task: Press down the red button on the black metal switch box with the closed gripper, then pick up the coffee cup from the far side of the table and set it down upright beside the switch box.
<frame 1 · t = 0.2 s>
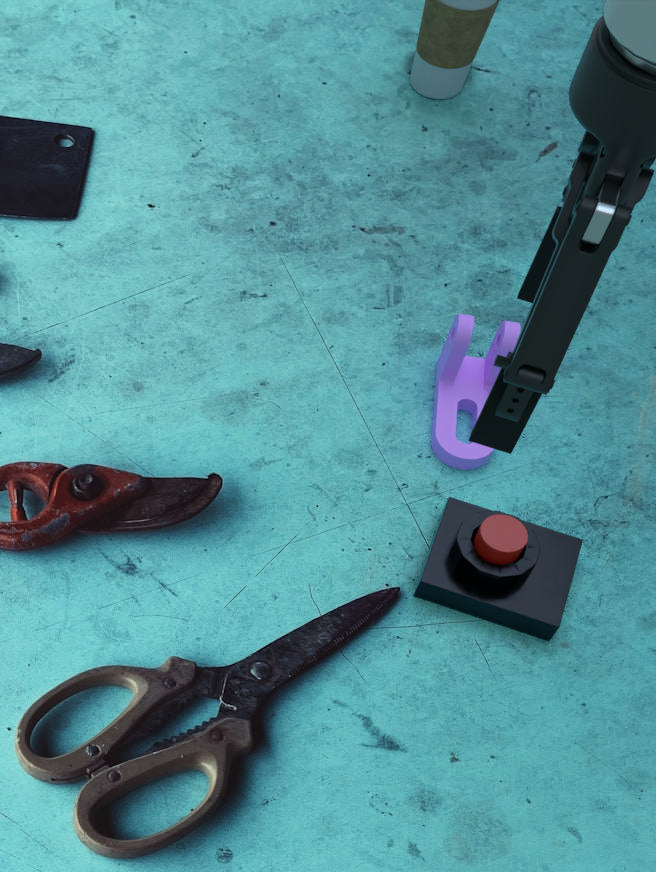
hand: (514, 370, 77), 28 cm above the table, tool pointing down, fingers open, 13 cm apart
bracket: (462, 418, 113), on the table
button: (500, 539, 101), point 4 cm above the table, slide at 0.1 cm
switch box: (493, 575, 105), on the table
coffee cup: (435, 84, 135), on the table
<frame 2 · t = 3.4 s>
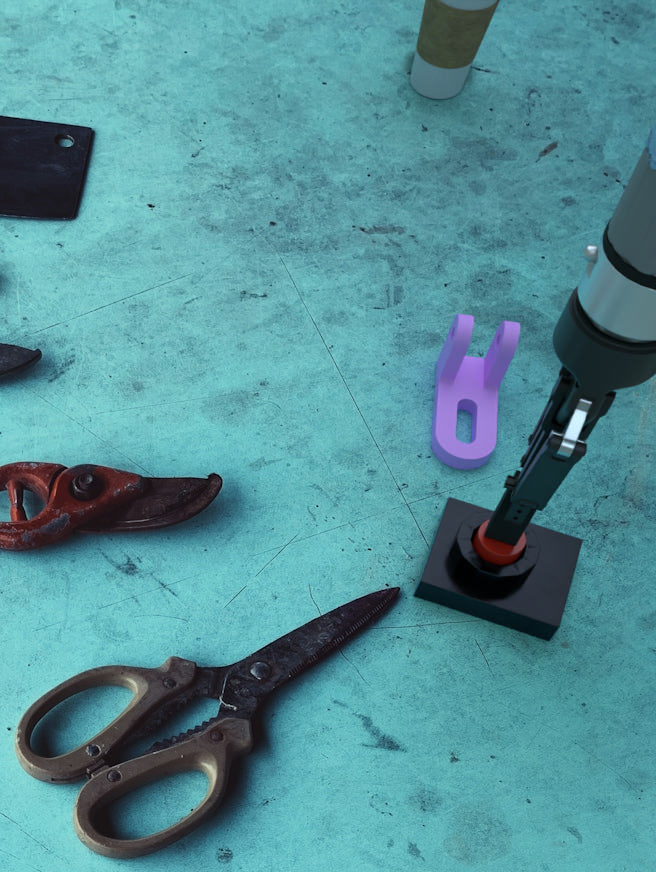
hand: (501, 534, 100), 5 cm above the table, tool pointing down, fingers closed
button: (498, 543, 101), point 4 cm above the table, slide at -0.4 cm, touching gripper
everything else where it was.
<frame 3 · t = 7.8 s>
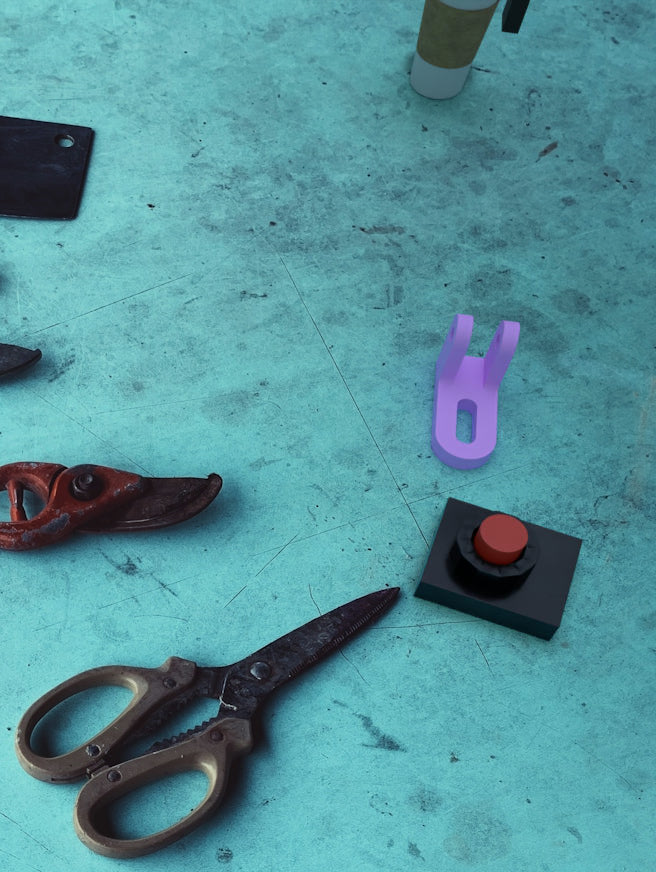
hand: (510, 23, 109), 19 cm above the table, tool pointing down, fingers closed
button: (500, 539, 101), point 4 cm above the table, slide at 0.1 cm
everything else where it was.
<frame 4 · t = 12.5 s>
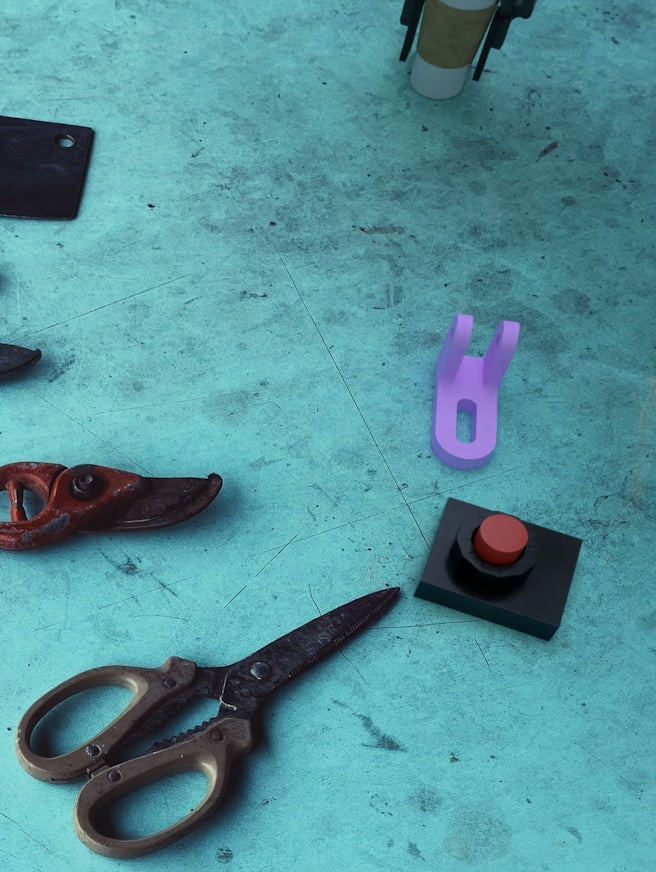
hand: (441, 64, 133), 2 cm above the table, tool pointing down, fingers closed on coffee cup, 8 cm apart
coffee cup: (435, 84, 135), on the table, touching gripper
everything else where it was.
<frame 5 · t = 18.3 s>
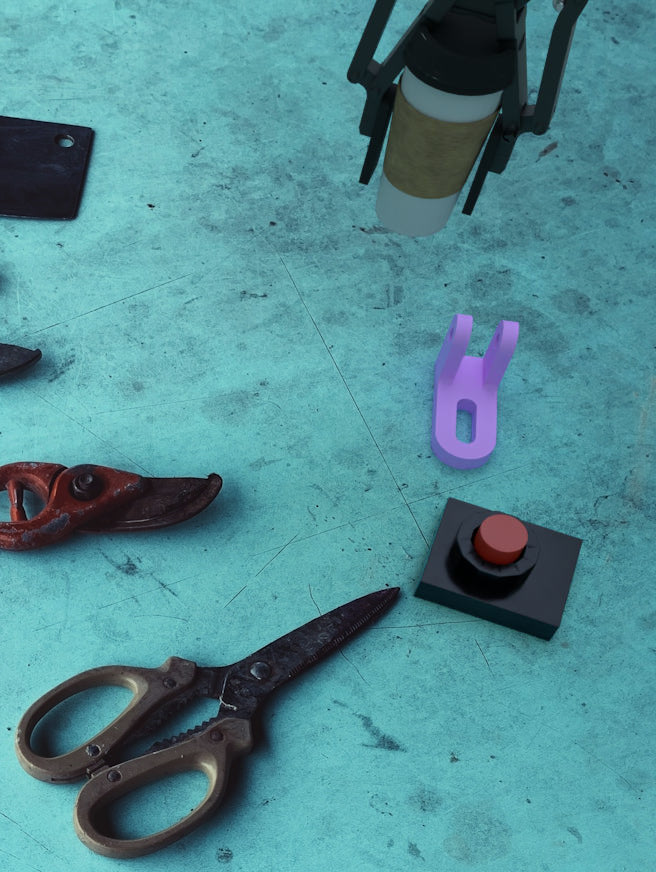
hand: (418, 188, 94), 22 cm above the table, tool pointing down, fingers closed on coffee cup, 8 cm apart
coffee cup: (410, 214, 96), point 20 cm above the table, touching gripper
everything else where it was.
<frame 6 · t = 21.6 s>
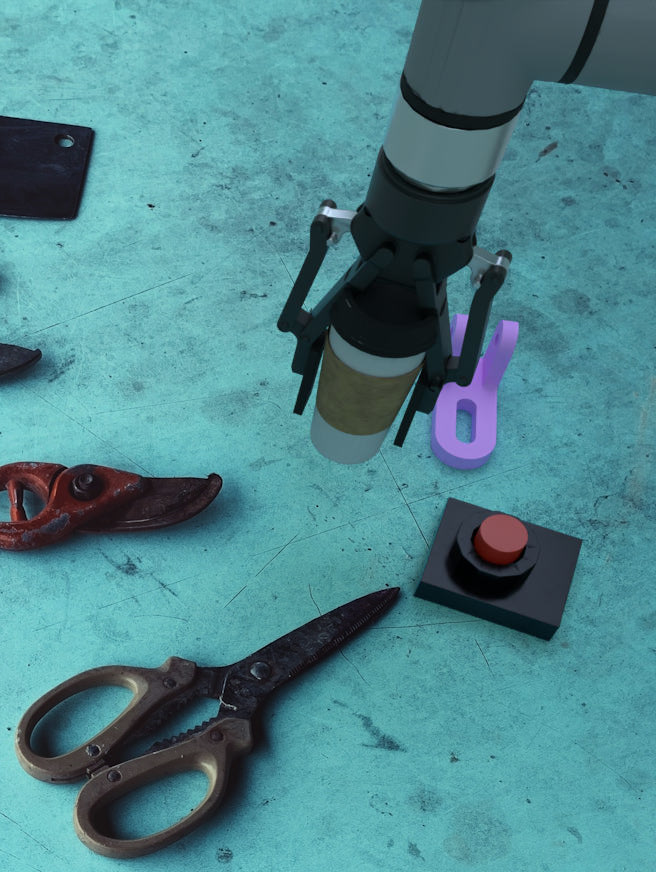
hand: (351, 418, 96), 12 cm above the table, tool pointing down, fingers closed on coffee cup, 8 cm apart
coffee cup: (344, 439, 98), point 10 cm above the table, touching gripper
everything else where it was.
when the fingers open (2 cm above the table, at t = 24.3 s): coffee cup stays where it is, on the table.
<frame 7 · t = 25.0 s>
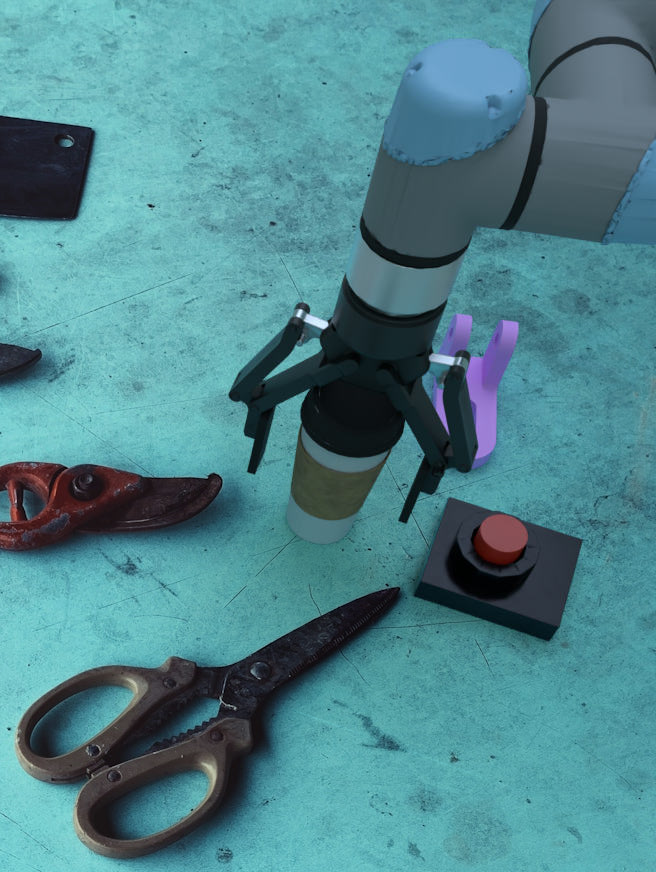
hand: (330, 486, 103), 4 cm above the table, tool pointing down, fingers open, 13 cm apart
coffee cup: (318, 519, 107), on the table
everything else where it was.
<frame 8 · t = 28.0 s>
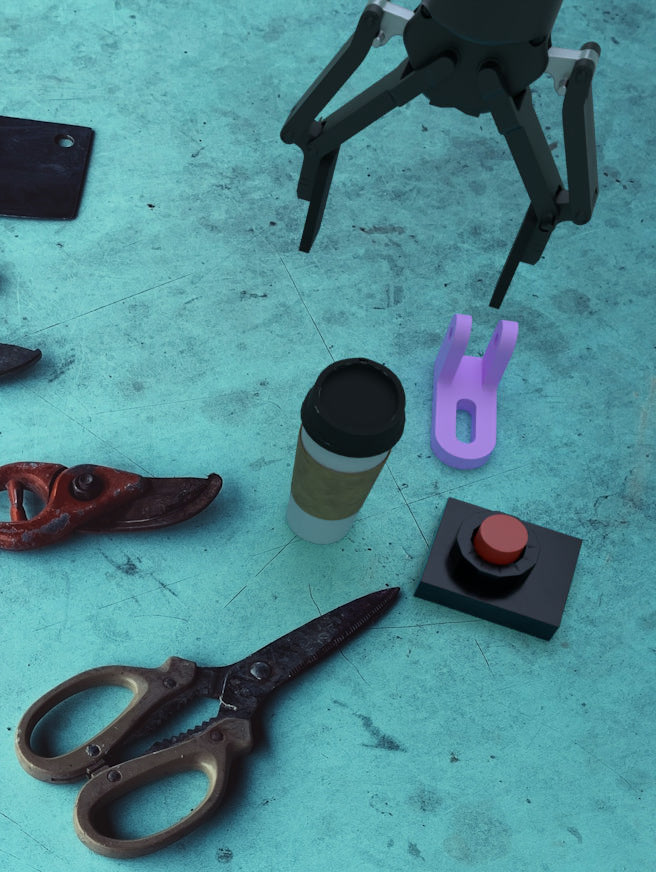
hand: (402, 267, 83), 27 cm above the table, tool pointing down, fingers open, 13 cm apart
nothing on the table moved.
at the end: button pushed in 1.0 cm at the most during the clip, back to where it started at the end; button slide at 0.1 cm; coffee cup inside the target area on the table beside the switch box (0.1 cm from its centre), on the table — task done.
